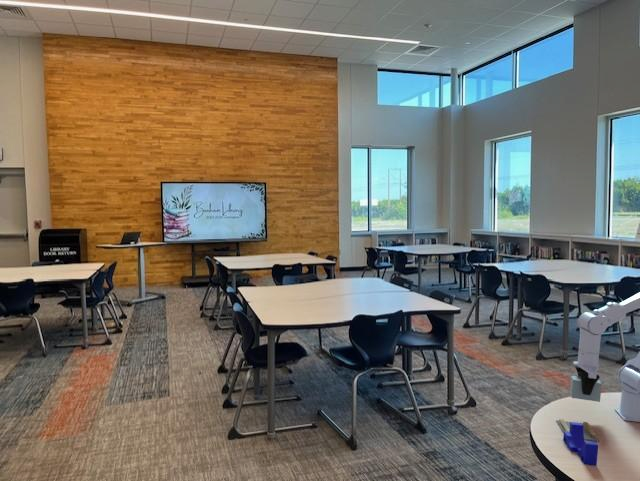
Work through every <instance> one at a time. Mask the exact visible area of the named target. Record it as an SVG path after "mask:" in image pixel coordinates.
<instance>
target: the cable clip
mask: <svg viewBox="0 0 640 481" xmlns="http://www.w3.org/2000/svg"><path fill="white" fill-rule="evenodd" d="M569 422H570V431H569V432H568V431H564V434H563V435H562V437H563V438H562V441H563V442H564V444H565V445H567V446H566V447H567V448H568V450H569V451H570V452H572V453H576V455H577V456H578V457H579V459H580V460H581V462H582V464H583V465H586V466H594V467H597V466H598V465H597V464H598V454H599V444H598V443H597V441H590V440H584V434H583V424H582V423H583V422H576V421H569Z"/></svg>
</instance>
